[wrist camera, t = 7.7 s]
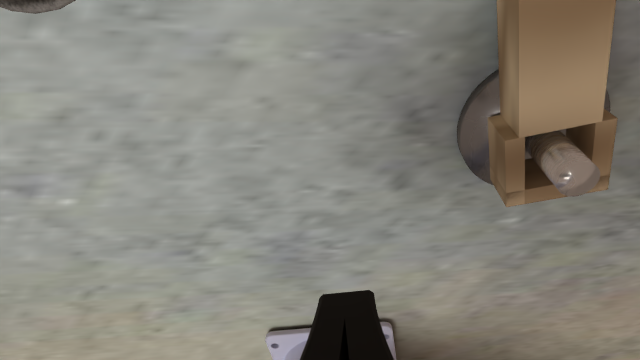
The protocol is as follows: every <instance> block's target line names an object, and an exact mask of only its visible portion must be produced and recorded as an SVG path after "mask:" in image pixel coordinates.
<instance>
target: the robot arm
mask: <svg viewBox="0 0 640 360" xmlns="http://www.w3.org/2000/svg"><path fill="white" fill-rule="evenodd" d="M265 340H266V343H267V346H268V348H269V351H270V353H271V356H272V358H273V360H396V352H395V345H394V338H393V330H392V325H391V324H390V323H388V322H380V321H379V317H378V314H377V310H376V304H375V298H374V293H373V292H371V291H370V290H365V291H354V292H344V293H334V294H323V295H322V296H321V297H320V298H319V303H318V307H317V311H316V314H315V318H314V321H313V324H312V327H311V328H304V329H292V330H281V331H271V332H268V333H267V334H266V339H265Z"/></svg>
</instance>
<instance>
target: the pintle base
mask: <svg viewBox="0 0 640 360" xmlns="http://www.w3.org/2000/svg"><path fill="white" fill-rule="evenodd" d="M604 109H605V110H607V111H608V112H609V113H610V101H609V96H608V93H607V90H606V92H605V101H604ZM497 115H500V92H499V70H497V71H495V72H494V73H492V74H491V75H490V76H489V77H487V78H486V79H485V80H484V81H483V82H482V83H481V84H480V85H479V86H478V87H477V88H476V89H475V90H474V91H473V93H472V94H471V95H470V97H469V98H468V100H467V101H466V103H465V105H464V107H463V109H462V112H461V114H460V117H459V121H458V126H457V142H458V146H459V149H460V152H461V154H462V156H463V158H464V160H465V162H466V164H467V165H468V167H469V168H470V170H471V171H472V172H473V173H474V174H475V175H476V176H478V177H479V178H480V179H482V180H484V181H485V182H487V183H490V184H492V185H493V183H492V181H491V179H490V160H489V139H488V118H487V117H492V116H497ZM530 158H533V160H534V161H535V162H536V163H537V165H538V166H539V167H540V168H541V169H542V171H543V172H544V173H545V174H546V176H547V177H548V178H549V179H550V181H551V182H552V183H553V184H554V186H555V187H556V188H557V189H558V191H559V192H560V193H562V194H563V195H566V196H579V195H582V194H585V193H587V192H588V191H590V190H591V189H592V188H594V187H595V185H596V184H597V183H598V181H599V179H600V170H599V168H598V167H597V166H596V165H595V164H594V163H593V162H592V161H591V160H590V159H589V158H588V157H587V156H586V155H585V154H584V153H583V152H582V151H581V150H579V149H578V148H577V147H576V146H575V145H574V144H573V143H572V142H571V141H570V140H569V139H568V138H567V137H566V129H562V130H557V131H552V132H547V133H542V134H537V135H532V136H527V137H525V159H530Z"/></svg>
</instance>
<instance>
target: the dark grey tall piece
mask: <svg viewBox="0 0 640 360" xmlns="http://www.w3.org/2000/svg"><path fill="white" fill-rule="evenodd" d="M73 1H75V0H0V7H2V8H5V9H8V10H10V11H17V12H26V13H35V14H37V13H42V12H48V11H53V10H58V9H61V8H63V7H65V6H66V5H68V4H70V3H71V2H73Z"/></svg>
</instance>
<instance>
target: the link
mask: <svg viewBox="0 0 640 360" xmlns="http://www.w3.org/2000/svg"><path fill="white" fill-rule="evenodd" d="M615 5H616V0H497V24H498V58H499V92H500V115H497V116H492V117H487V118H488V139H489V160H490V179H491V181H492V183H493V185H494V186H495V188H496V190H497V192H498V193H499V195H500V197H501V198H502V200H503V202H504V204H505V205H506V207H510V206H516V205H521V204H527V203H533V202H538V201H544V200H550V199H556V198H561V197H567V196H566V195H563V194H562V193H560V192H559V191H558V189H557V188H556V187H555V186H554V184H553V183H552V182H551V181H550V179H549V178H548V177H547V176H546V174H545V173H544V172H543V171H542V169H541V168H540V167H539V166H538V165H537V163H536V162H535V161H534V160H533V158H530V159H525V137H527V136H532V135H537V134H542V133H547V132H552V131H557V130H562V129H566V137H567V138H568V139H569V140H570V141H571V142H572V143H573V144H574V145H575V146H576V147H577V148H578V149H579V150H581V151H582V152H583V153H584V154H585V155H586V156H587V157H588V158H589V159H590V160H591V161H592V162H593V163H594V164H595V165H596V166H597V167H598V168H599V170H600V179H599V181H598V183H597V184H596V185H595V187H594V188H592V189H591V190H590V191H588V192H587V193H590V192H596V191H602V190H607V189H608V185H609V177H610V170H611V163H612V155H613V148H614V141H615V133H616V126H617V119H618V118H616V117H615V116H614V115H612V114H611V113H609V112H608V111H607V110H605V109H604V101H605V92H606V84H607V75H608V66H609V57H610V49H611V40H612V31H613V23H614V14H615Z"/></svg>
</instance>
